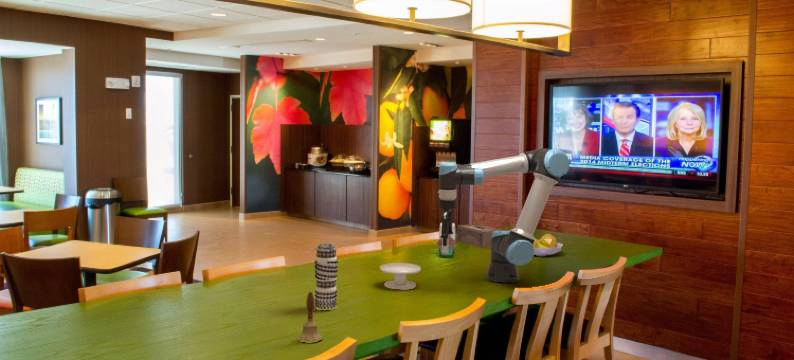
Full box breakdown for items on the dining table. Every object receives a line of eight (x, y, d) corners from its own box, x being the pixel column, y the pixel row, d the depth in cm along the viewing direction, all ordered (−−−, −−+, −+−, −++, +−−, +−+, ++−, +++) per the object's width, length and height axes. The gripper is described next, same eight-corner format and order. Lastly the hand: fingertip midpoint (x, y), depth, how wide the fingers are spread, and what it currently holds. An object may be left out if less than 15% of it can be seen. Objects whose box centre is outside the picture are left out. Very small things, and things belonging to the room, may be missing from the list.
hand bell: (292, 340, 220) (292, 292, 218) (310, 333, 226) (310, 288, 225) (310, 345, 214) (310, 297, 213) (327, 339, 221) (328, 292, 220)
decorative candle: (338, 305, 262) (339, 242, 259) (337, 311, 252) (337, 247, 250) (315, 304, 261) (315, 242, 259) (312, 311, 252) (313, 246, 250)
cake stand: (423, 283, 300) (424, 264, 299) (416, 292, 282) (416, 273, 282) (385, 280, 304) (385, 261, 303) (375, 289, 286) (375, 270, 286)
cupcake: (440, 256, 282) (440, 228, 281) (433, 252, 290) (434, 225, 289) (459, 255, 284) (459, 227, 283) (452, 251, 292) (452, 224, 291)
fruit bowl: (567, 259, 359) (568, 238, 358) (517, 258, 360) (518, 237, 359) (556, 249, 387) (557, 230, 386) (510, 248, 388) (510, 229, 387)
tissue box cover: (457, 241, 407) (457, 225, 406) (475, 239, 414) (476, 223, 413) (482, 248, 385) (483, 231, 384) (502, 246, 392) (502, 230, 391)
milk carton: (438, 258, 355) (439, 221, 353) (438, 254, 364) (439, 218, 362) (454, 258, 354) (455, 221, 352) (454, 255, 363) (455, 219, 361)
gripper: (442, 195, 296) (441, 246, 298) (434, 201, 276) (433, 255, 278) (459, 196, 294) (458, 246, 297) (452, 202, 274) (451, 256, 276)
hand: (446, 251), depth 287 cm, fingers closed on cupcake, 8 cm apart
